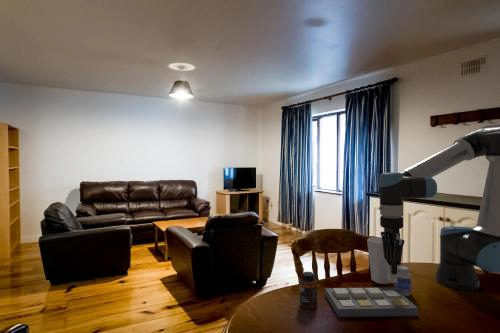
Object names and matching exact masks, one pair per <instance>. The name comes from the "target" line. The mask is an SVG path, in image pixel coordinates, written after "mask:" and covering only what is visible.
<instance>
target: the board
mask: <svg viewBox="0 0 500 333" xmlns="http://www.w3.org/2000/svg"><path fill="white" fill-rule="evenodd" d="M333 288H334V287H333ZM333 288H332V287H328V288H327V287H325V288H324V292H325V293H324V294H325V298H326V299H327V300H328V302H329V304H330V306H331V308H332V309H333V311H334V312H335V314H336V315H337V317H338V318H355V317H356V318H362V317H363V318H364V317H366V318H367V317H417V316H419V308H418V306H416V305H415V304H414V303H413V302H412V301H410V300H409V299H408V298H407V296H403V295H402V294H401V293H400V292H399V291H397V290H396V289H395V286H394V287H392V286H391V287H378V288H379V289H380V290H381V291H382V290H394V291H395V292H397V293H398V294H399V295H400V298H387V297H386V296H385V295H384V294H383V298H369V296H368V295H367V294H366V298H352V297H351V295H350V294H349V298H344V299H336V298H335V297H334V295H333ZM344 288H345V289H346V290H347V291H348V293H349V288H350V287H344ZM361 288H362V289H363V290H364V291H365V292H366V288H367V287H361Z"/></svg>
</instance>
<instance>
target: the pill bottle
mask: <svg viewBox="0 0 500 333" xmlns="http://www.w3.org/2000/svg"><path fill="white" fill-rule="evenodd" d="M409 270H410V268H409V267H407V266H404V265H397V283H394V285H395V286H394V288H395V289H396V290H397V291H399V292H400V293H401V294H402V295H403V296H404V297H408V296H410V295H411V294H412V275H411V274H410V273H409V272H410V271H409Z"/></svg>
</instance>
